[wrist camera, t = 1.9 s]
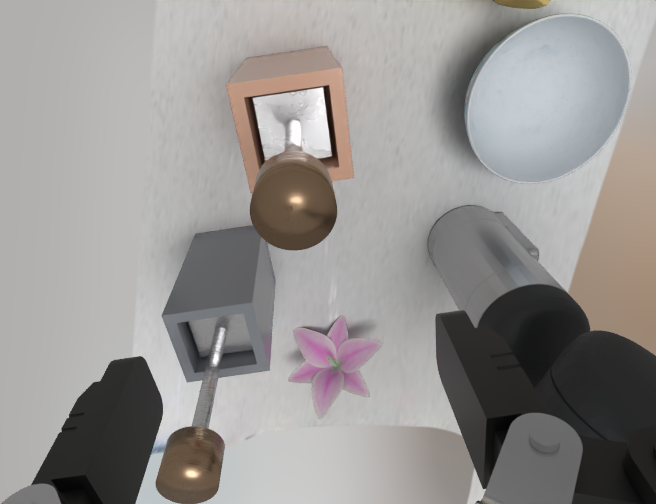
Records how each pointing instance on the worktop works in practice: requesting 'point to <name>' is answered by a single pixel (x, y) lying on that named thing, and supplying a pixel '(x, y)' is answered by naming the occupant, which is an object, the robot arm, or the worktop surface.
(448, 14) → the worktop surface
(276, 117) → the bronze knob plunger
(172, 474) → the tall bronze-capped rod
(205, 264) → the grey square holder
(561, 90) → the chinaware
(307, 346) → the lily
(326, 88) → the press terracotta
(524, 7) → the cheese
